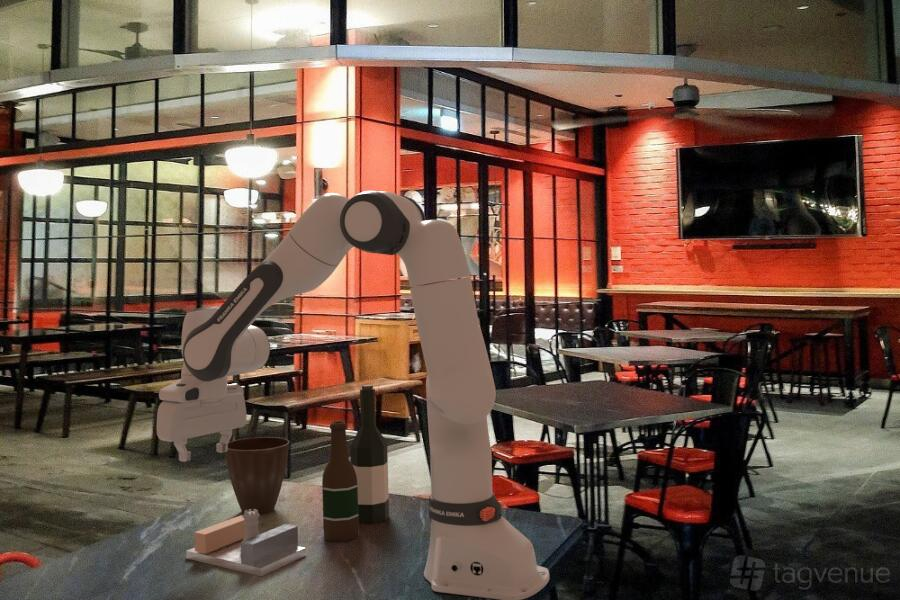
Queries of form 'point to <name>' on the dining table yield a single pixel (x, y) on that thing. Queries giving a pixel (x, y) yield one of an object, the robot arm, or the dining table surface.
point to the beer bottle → (339, 490)
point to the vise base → (235, 559)
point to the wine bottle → (370, 463)
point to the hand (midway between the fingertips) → (203, 456)
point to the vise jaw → (219, 535)
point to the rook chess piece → (251, 524)
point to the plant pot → (257, 471)
